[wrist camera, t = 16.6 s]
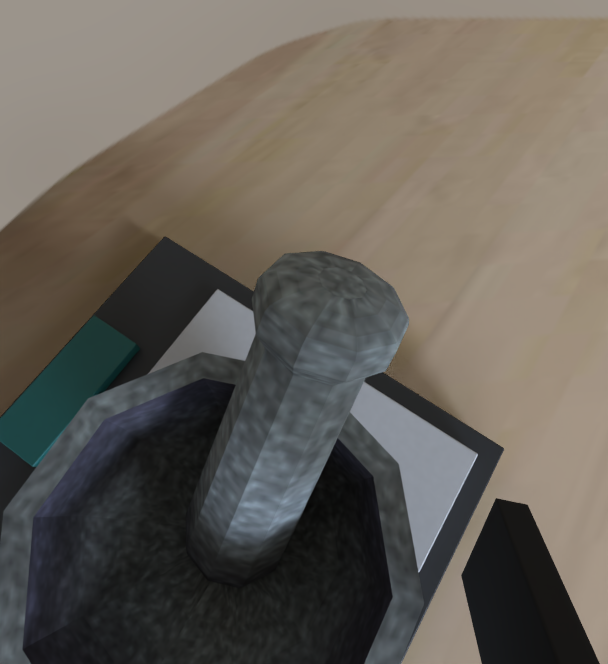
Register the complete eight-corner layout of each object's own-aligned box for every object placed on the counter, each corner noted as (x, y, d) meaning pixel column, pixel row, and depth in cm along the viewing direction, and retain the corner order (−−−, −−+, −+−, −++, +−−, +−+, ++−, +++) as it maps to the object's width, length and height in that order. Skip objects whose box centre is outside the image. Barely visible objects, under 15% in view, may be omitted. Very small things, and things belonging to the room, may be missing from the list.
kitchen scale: (-75, 538, 19) (-129, 543, 16) (174, 256, 24) (161, 228, 21) (289, 850, 16) (289, 913, 13) (485, 453, 21) (511, 446, 18)
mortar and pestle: (281, 761, 15) (267, 1626, 3) (48, 599, 16) (-519, 829, 5) (423, 448, 18) (646, 359, 7) (224, 336, 20) (143, 112, 8)
